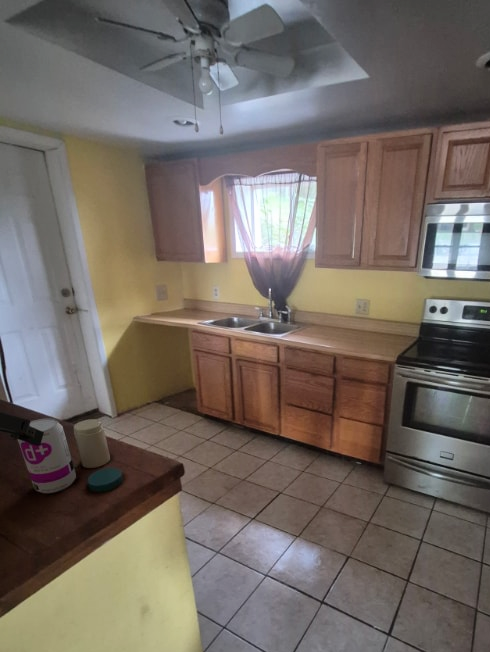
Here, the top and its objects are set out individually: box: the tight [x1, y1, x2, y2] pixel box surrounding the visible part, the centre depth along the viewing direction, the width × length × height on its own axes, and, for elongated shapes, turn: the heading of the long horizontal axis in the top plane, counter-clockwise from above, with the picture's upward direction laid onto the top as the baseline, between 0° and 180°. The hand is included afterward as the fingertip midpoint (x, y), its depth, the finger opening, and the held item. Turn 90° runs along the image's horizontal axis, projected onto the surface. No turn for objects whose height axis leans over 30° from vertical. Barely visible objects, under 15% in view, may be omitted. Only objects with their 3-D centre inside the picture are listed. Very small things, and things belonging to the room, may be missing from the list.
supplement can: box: [17, 417, 77, 494], centre depth 82 cm, size 8×8×15 cm
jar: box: [73, 418, 111, 469], centre depth 92 cm, size 6×6×10 cm
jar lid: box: [87, 467, 124, 493], centre depth 85 cm, size 7×7×2 cm
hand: (5, 437), depth 71 cm, fingers open, 13 cm apart
